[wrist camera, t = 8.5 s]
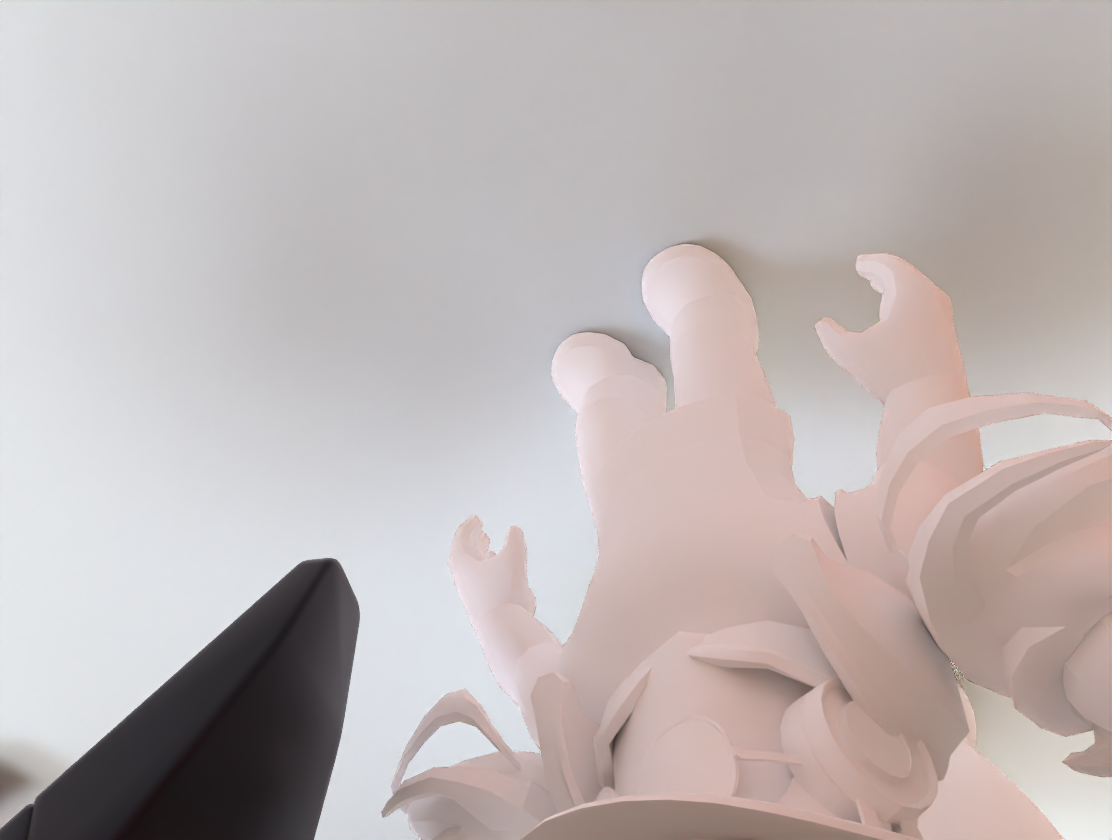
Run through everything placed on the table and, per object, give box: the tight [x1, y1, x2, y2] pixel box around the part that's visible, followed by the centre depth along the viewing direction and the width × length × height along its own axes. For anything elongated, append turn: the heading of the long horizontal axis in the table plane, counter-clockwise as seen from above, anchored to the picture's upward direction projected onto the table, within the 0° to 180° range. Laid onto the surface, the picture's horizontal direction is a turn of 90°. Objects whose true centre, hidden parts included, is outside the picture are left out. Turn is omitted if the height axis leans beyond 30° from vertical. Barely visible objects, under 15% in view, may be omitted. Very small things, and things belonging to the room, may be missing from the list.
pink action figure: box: [381, 244, 1112, 840], centre depth 8 cm, size 9×4×12 cm, turn 133°
